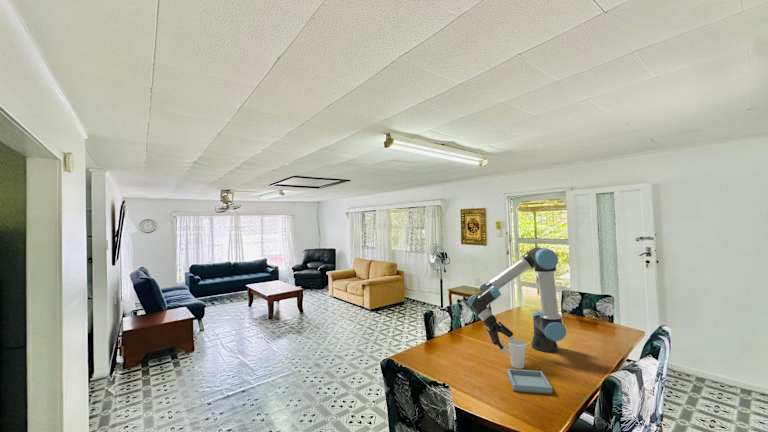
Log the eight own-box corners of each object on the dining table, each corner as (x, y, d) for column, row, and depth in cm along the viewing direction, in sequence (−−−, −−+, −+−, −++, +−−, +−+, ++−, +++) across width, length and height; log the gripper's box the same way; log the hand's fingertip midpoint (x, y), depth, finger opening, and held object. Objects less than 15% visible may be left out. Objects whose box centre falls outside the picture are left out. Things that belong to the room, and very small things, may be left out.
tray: (542, 376, 161) (541, 371, 161) (552, 394, 144) (552, 387, 145) (507, 374, 165) (507, 368, 165) (513, 391, 148) (513, 384, 148)
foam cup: (505, 362, 179) (505, 339, 179) (521, 361, 179) (520, 339, 180) (514, 370, 169) (513, 346, 170) (530, 369, 170) (529, 345, 170)
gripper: (494, 317, 197) (518, 347, 186) (472, 326, 181) (497, 360, 169) (501, 310, 194) (526, 341, 182) (480, 319, 177) (507, 353, 165)
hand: (513, 350), depth 176 cm, fingers open, 13 cm apart
